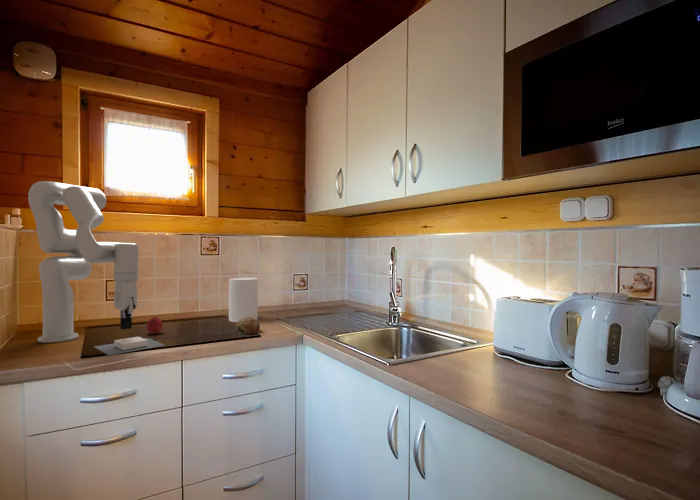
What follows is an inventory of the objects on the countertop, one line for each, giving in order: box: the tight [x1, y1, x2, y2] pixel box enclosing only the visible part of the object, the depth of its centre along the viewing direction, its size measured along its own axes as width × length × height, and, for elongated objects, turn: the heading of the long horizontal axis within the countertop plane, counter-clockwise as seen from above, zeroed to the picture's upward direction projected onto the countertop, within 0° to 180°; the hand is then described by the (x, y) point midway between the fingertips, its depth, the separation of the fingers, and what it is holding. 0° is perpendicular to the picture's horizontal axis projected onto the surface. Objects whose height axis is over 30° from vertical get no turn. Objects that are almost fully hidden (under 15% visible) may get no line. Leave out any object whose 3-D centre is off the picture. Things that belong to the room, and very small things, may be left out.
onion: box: [146, 314, 164, 335], centre depth 160 cm, size 6×6×8 cm
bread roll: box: [235, 317, 261, 335], centre depth 167 cm, size 10×10×8 cm
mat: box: [93, 337, 165, 356], centre depth 140 cm, size 16×18×1 cm
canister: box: [228, 277, 259, 323], centre depth 194 cm, size 14×14×20 cm
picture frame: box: [114, 336, 148, 350], centre depth 139 cm, size 2×8×8 cm
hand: (126, 328), depth 142 cm, fingers closed
